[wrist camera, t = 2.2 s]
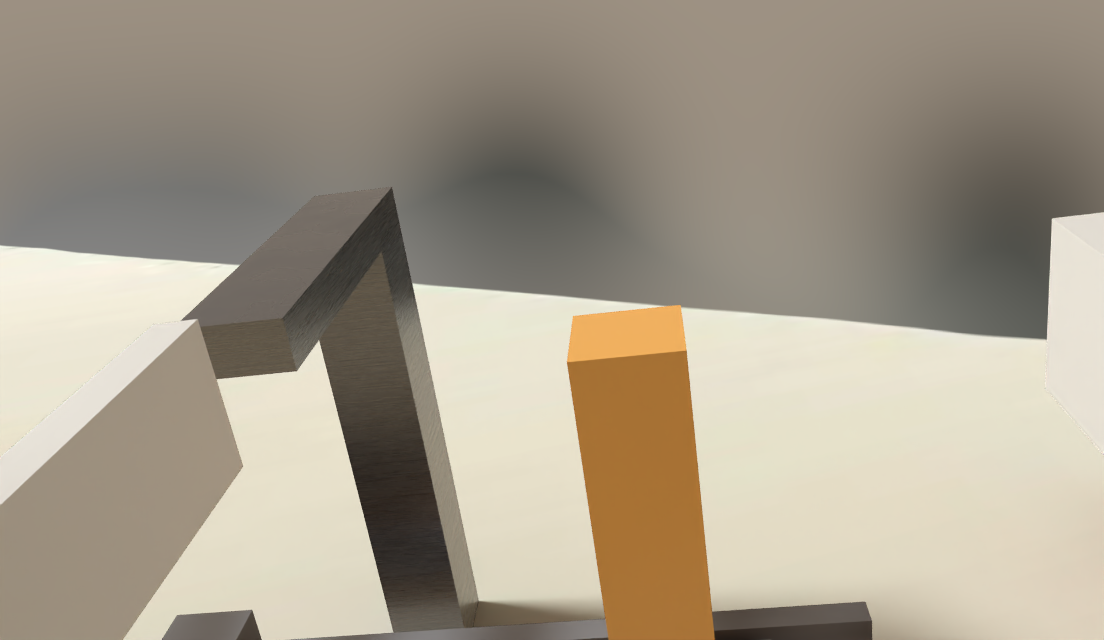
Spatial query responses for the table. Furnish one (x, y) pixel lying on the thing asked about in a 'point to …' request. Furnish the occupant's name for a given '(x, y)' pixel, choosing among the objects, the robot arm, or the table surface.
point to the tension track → (578, 627)
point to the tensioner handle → (641, 472)
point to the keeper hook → (359, 385)
